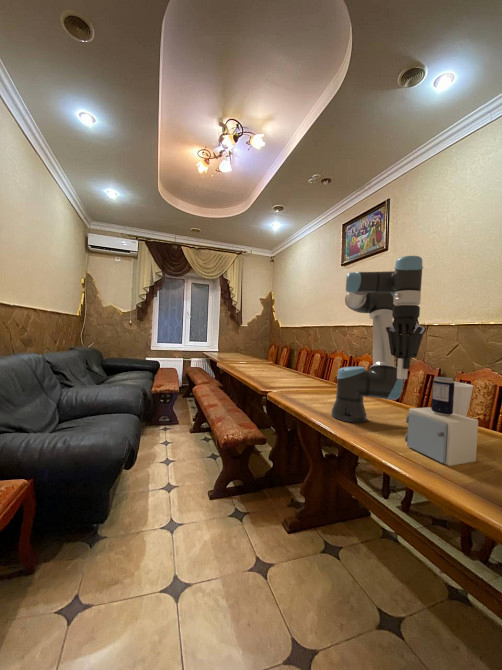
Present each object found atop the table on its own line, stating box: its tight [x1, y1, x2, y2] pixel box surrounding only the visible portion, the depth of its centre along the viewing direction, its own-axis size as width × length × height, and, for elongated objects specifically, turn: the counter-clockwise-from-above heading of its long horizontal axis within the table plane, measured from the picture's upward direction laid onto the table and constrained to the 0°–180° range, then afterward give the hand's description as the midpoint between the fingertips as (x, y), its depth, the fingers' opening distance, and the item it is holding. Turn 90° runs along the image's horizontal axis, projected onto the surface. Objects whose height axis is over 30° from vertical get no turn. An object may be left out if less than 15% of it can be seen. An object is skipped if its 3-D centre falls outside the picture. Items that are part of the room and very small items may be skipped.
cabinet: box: [408, 406, 479, 467], centre depth 85 cm, size 14×12×13 cm
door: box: [404, 412, 447, 464], centre depth 83 cm, size 2×13×12 cm, turn 18°
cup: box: [453, 381, 474, 417], centre depth 97 cm, size 12×12×22 cm
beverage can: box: [431, 376, 455, 416], centre depth 85 cm, size 6×6×12 cm
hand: (401, 378), depth 83 cm, fingers closed
